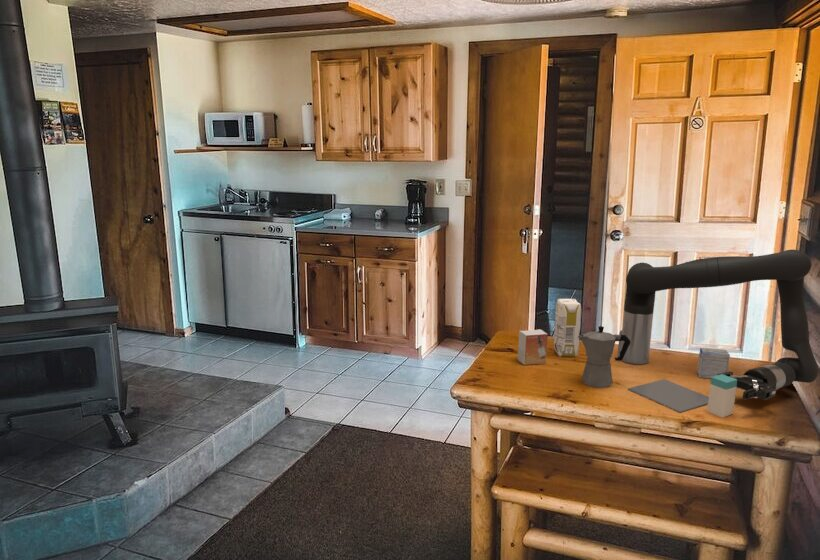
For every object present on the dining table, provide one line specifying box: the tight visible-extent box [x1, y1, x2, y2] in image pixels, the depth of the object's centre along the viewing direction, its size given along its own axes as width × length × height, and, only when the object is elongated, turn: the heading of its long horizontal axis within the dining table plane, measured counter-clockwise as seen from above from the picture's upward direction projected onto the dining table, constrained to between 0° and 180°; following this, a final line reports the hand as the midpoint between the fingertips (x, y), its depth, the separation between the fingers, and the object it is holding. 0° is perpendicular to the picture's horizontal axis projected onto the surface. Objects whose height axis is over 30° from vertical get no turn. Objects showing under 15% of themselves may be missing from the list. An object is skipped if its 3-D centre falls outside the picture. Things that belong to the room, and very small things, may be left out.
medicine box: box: [697, 347, 731, 379], centre depth 190 cm, size 8×4×9 cm, turn 74°
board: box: [627, 378, 709, 414], centre depth 176 cm, size 18×16×1 cm
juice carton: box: [553, 298, 582, 358], centre depth 209 cm, size 8×9×19 cm
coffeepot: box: [578, 325, 630, 389], centre depth 183 cm, size 15×9×18 cm, turn 83°
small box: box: [517, 328, 549, 366], centre depth 201 cm, size 8×6×10 cm
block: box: [706, 374, 737, 418], centre depth 164 cm, size 4×4×10 cm
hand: (729, 390), depth 165 cm, fingers open, 8 cm apart
